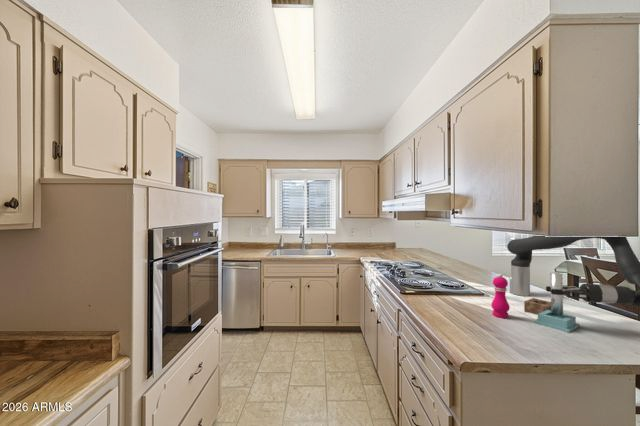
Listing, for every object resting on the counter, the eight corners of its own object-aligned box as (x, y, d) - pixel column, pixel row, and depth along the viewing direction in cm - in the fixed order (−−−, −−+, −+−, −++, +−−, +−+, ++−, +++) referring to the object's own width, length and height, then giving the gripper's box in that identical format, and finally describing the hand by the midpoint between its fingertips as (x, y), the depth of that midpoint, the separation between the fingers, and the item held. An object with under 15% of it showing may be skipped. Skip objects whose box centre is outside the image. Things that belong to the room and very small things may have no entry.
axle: (549, 314, 121) (548, 273, 121) (553, 312, 123) (552, 272, 123) (561, 317, 117) (560, 274, 117) (564, 315, 119) (563, 273, 120)
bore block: (524, 311, 137) (524, 301, 137) (533, 307, 142) (533, 298, 142) (549, 317, 128) (549, 306, 128) (557, 313, 133) (557, 303, 133)
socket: (534, 322, 122) (534, 313, 122) (545, 317, 128) (545, 308, 128) (568, 332, 112) (568, 322, 112) (579, 326, 118) (579, 317, 118)
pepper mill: (489, 316, 130) (489, 273, 130) (493, 312, 135) (493, 271, 136) (508, 320, 125) (507, 276, 125) (510, 315, 131) (510, 273, 131)
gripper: (587, 280, 122) (541, 278, 128) (609, 288, 109) (556, 285, 114) (588, 297, 122) (541, 294, 128) (609, 307, 109) (556, 303, 114)
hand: (549, 290), depth 121 cm, fingers closed on axle, 4 cm apart
